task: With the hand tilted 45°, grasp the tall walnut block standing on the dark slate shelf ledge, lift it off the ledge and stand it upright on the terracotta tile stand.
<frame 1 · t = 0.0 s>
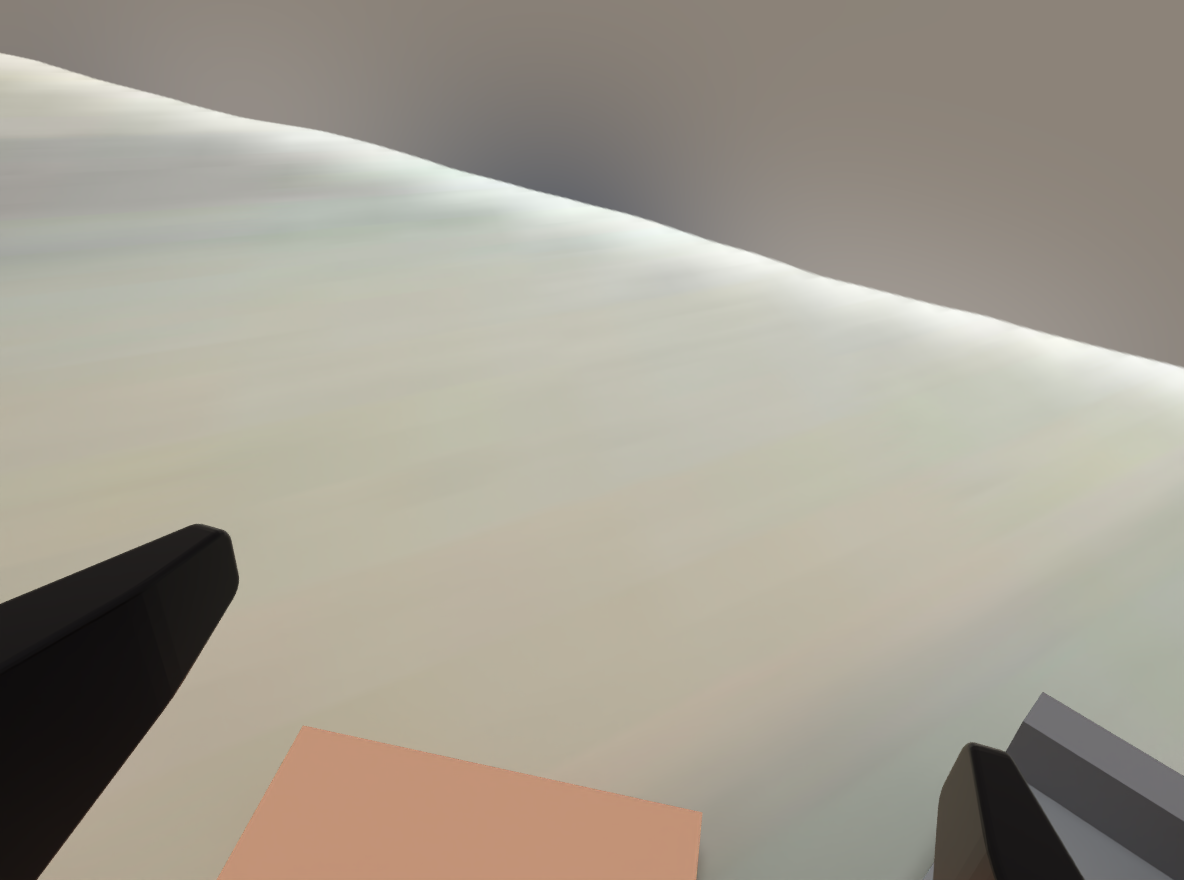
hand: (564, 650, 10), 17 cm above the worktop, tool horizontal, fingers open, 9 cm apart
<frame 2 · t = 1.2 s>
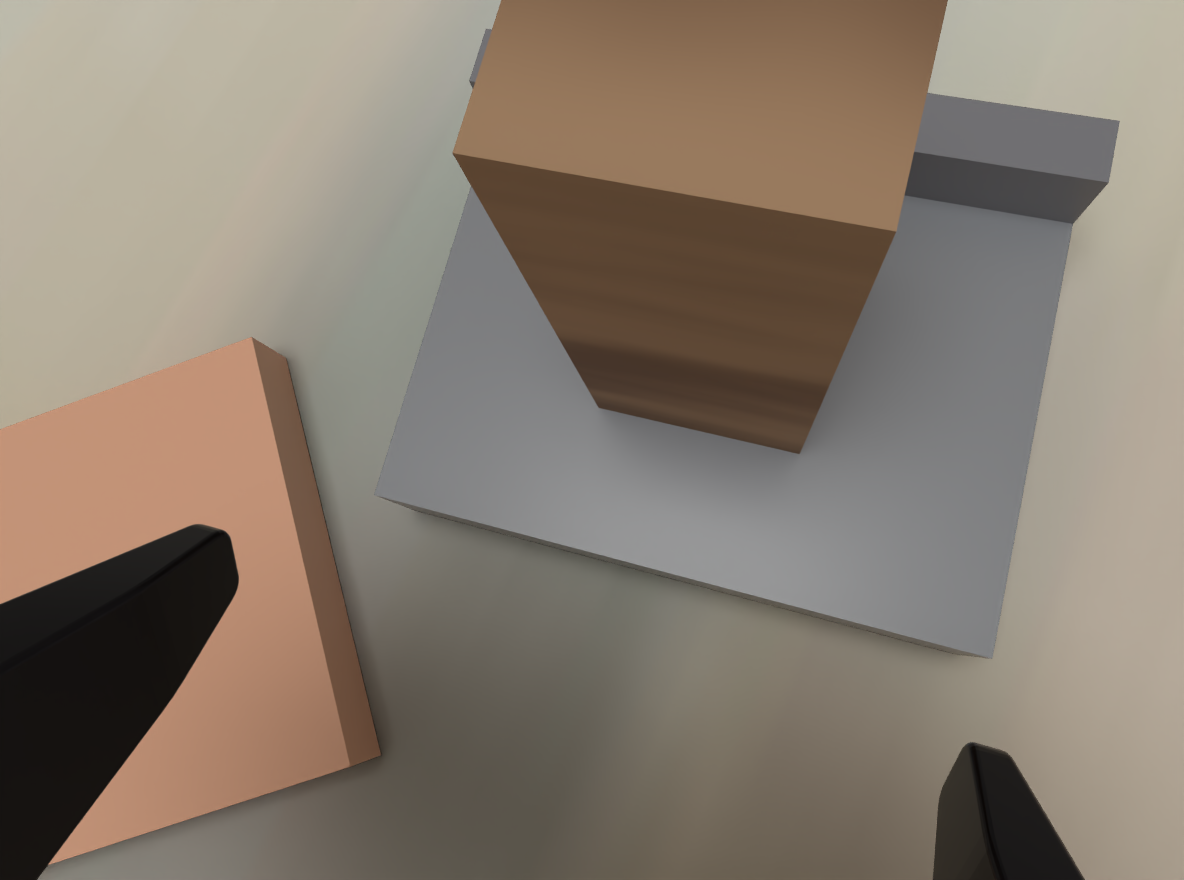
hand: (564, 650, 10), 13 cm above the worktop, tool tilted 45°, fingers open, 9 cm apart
walnut block: (721, 334, 22), point 3 cm above the worktop, touching slate shelf ledge
terracotta tile stand: (142, 610, 25), on the worktop
slate shelf ledge: (721, 369, 24), on the worktop
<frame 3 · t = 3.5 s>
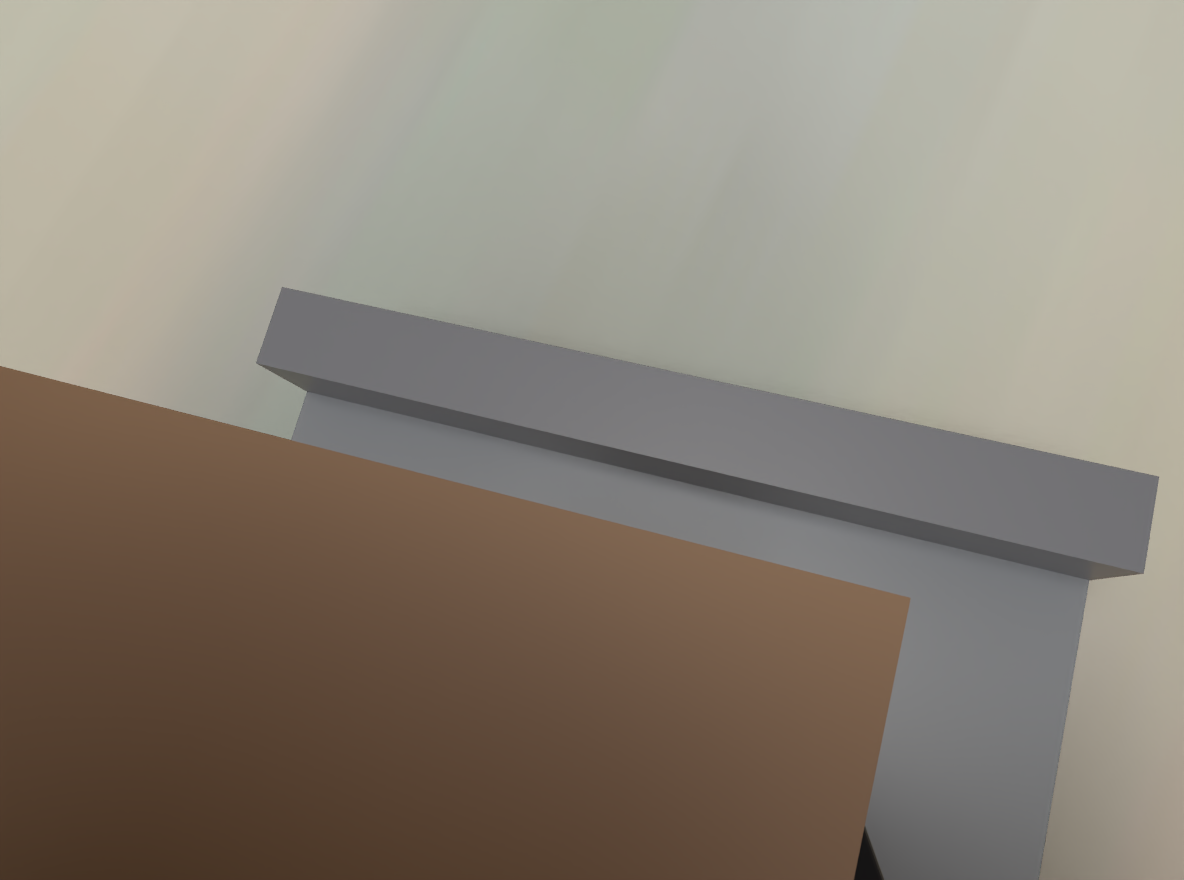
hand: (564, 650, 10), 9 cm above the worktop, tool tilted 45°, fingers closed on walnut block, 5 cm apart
walnut block: (601, 718, 16), point 3 cm above the worktop, touching gripper, slate shelf ledge
slate shelf ledge: (621, 703, 18), on the worktop
when the fingers open (9 cm above the worktop, at t = 7.8 s): walnut block drops 1 cm, resting on terracotta tile stand.
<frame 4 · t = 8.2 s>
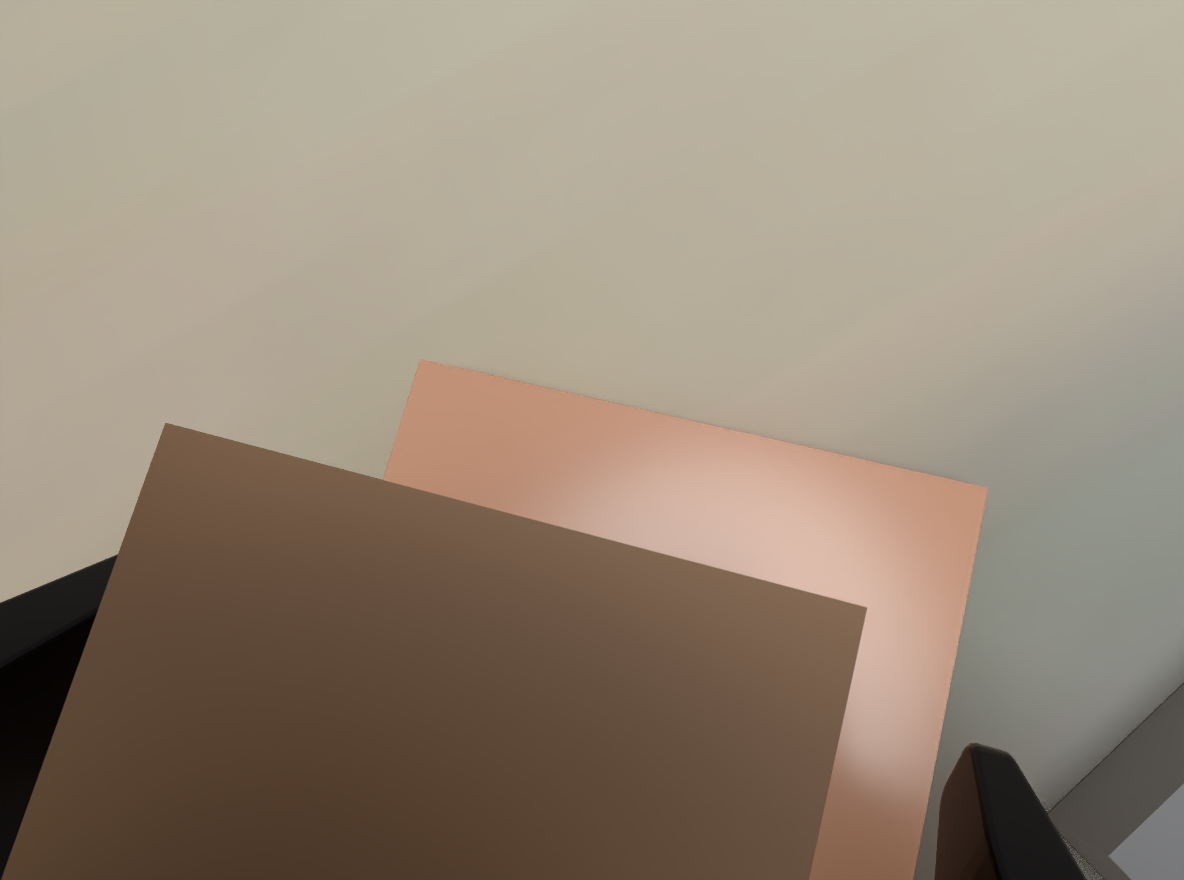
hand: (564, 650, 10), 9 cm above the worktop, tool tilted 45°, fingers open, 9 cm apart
walnut block: (614, 710, 17), point 2 cm above the worktop, touching terracotta tile stand
terracotta tile stand: (623, 701, 19), on the worktop
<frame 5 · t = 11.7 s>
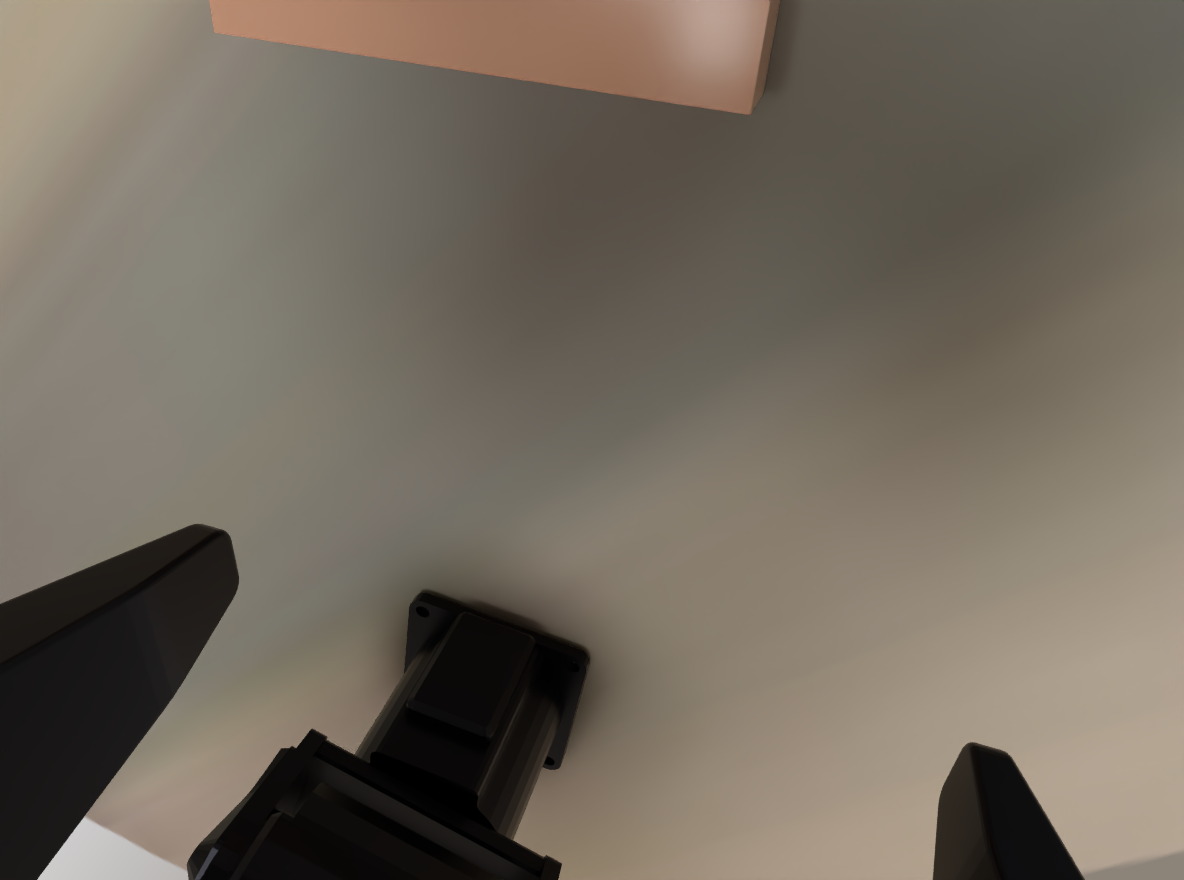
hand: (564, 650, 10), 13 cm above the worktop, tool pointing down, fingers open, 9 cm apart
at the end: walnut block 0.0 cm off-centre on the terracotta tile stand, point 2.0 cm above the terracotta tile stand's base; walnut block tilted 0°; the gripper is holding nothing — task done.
